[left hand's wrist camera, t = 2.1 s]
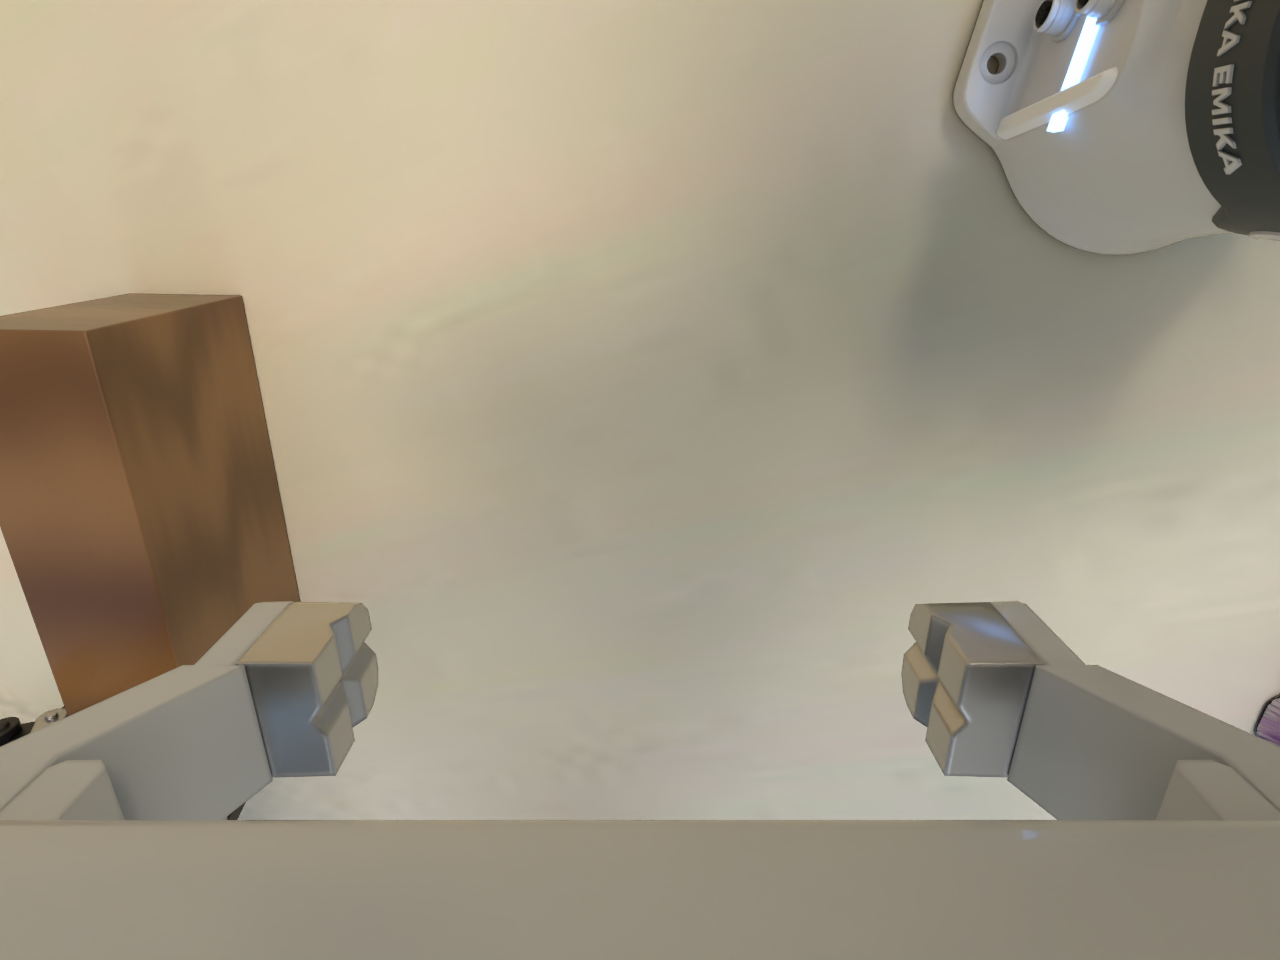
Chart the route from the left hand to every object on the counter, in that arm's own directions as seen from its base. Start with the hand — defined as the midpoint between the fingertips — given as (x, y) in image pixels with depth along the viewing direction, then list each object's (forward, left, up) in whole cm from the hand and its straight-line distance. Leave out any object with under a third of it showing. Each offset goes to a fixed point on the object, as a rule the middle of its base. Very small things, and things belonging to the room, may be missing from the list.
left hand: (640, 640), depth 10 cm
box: (+10, -24, -29) cm, 39 cm away
